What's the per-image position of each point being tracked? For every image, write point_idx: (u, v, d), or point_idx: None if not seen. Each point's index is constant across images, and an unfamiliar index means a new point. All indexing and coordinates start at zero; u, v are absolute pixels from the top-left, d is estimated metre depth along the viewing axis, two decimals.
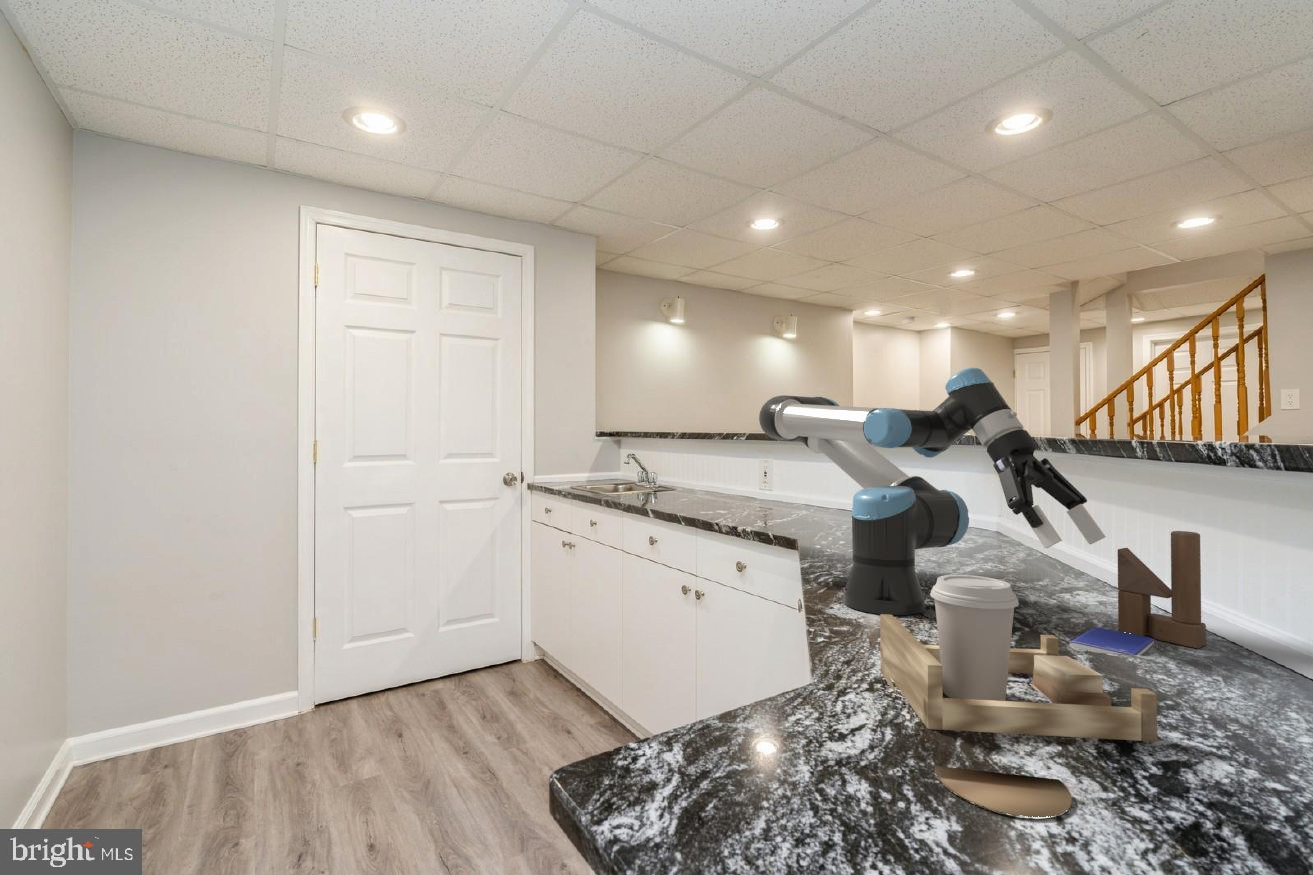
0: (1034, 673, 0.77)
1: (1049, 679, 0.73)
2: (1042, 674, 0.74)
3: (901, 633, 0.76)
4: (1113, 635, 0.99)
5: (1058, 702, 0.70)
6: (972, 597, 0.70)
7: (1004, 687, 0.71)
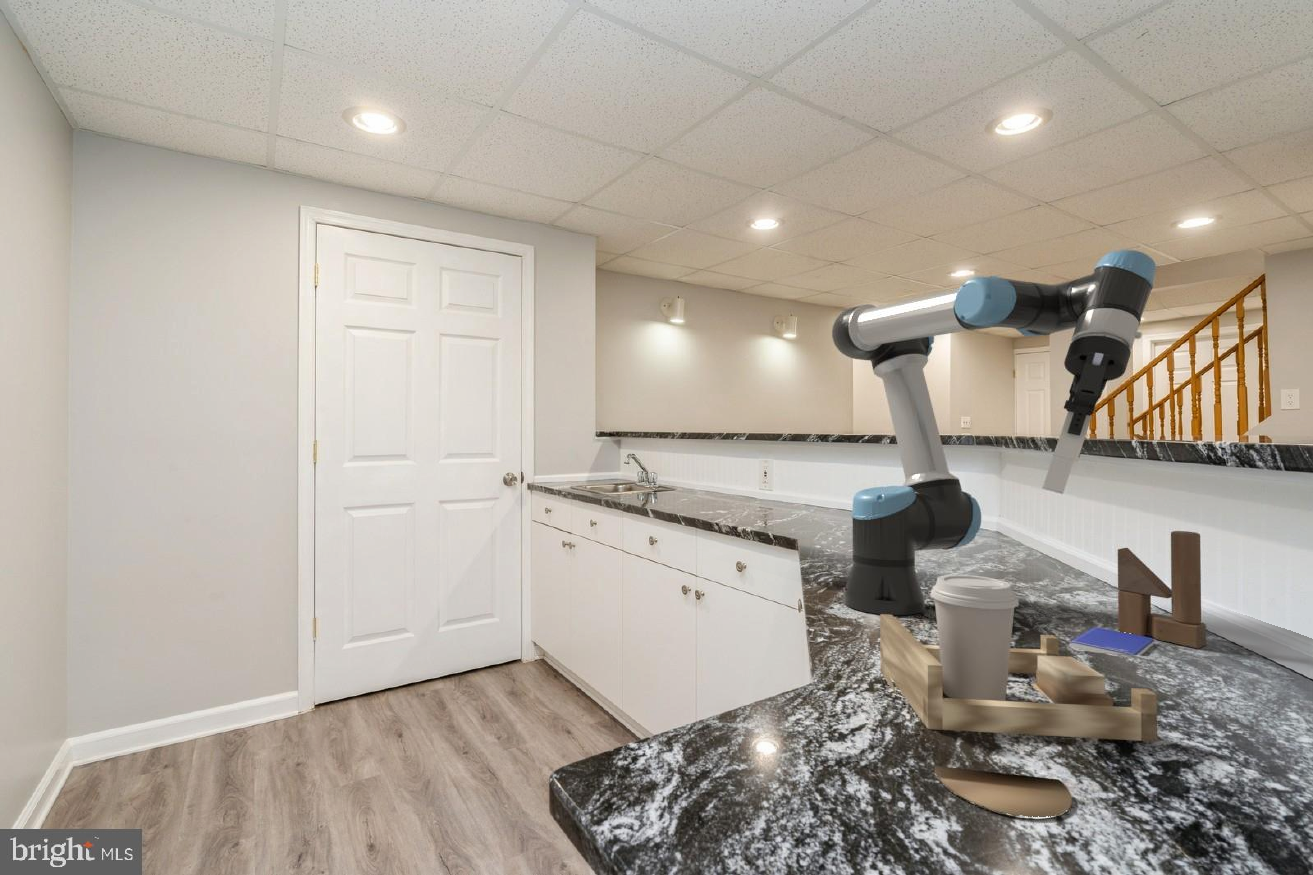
0: (1037, 674, 0.76)
1: (1051, 679, 0.73)
2: (1045, 674, 0.74)
3: (901, 633, 0.76)
4: (1113, 635, 0.99)
5: (1059, 703, 0.70)
6: (972, 597, 0.70)
7: (1004, 687, 0.71)
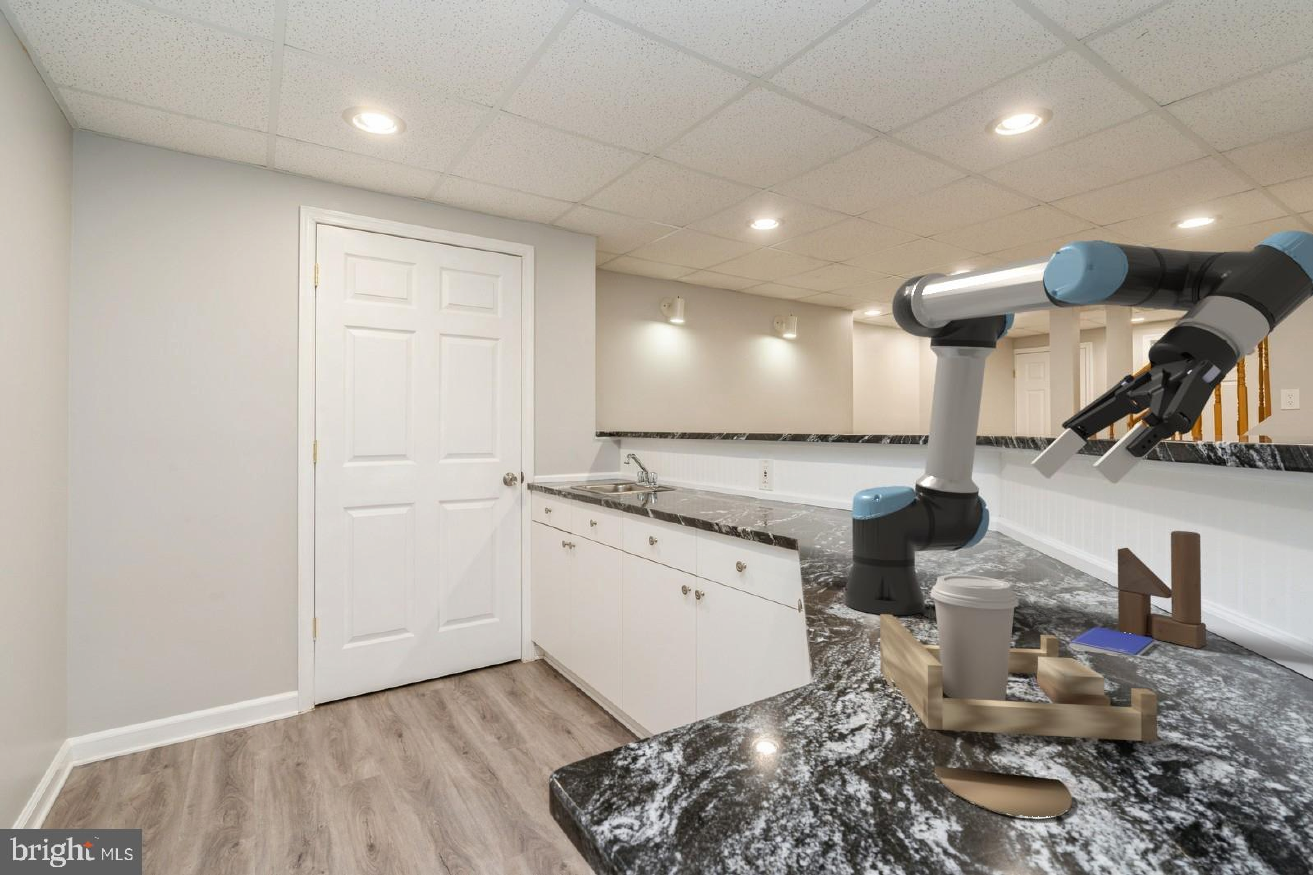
0: (1037, 674, 0.77)
1: (1051, 680, 0.73)
2: (1045, 675, 0.74)
3: (901, 633, 0.76)
4: (1113, 635, 0.99)
5: (1056, 702, 0.70)
6: (972, 597, 0.70)
7: (1004, 687, 0.71)
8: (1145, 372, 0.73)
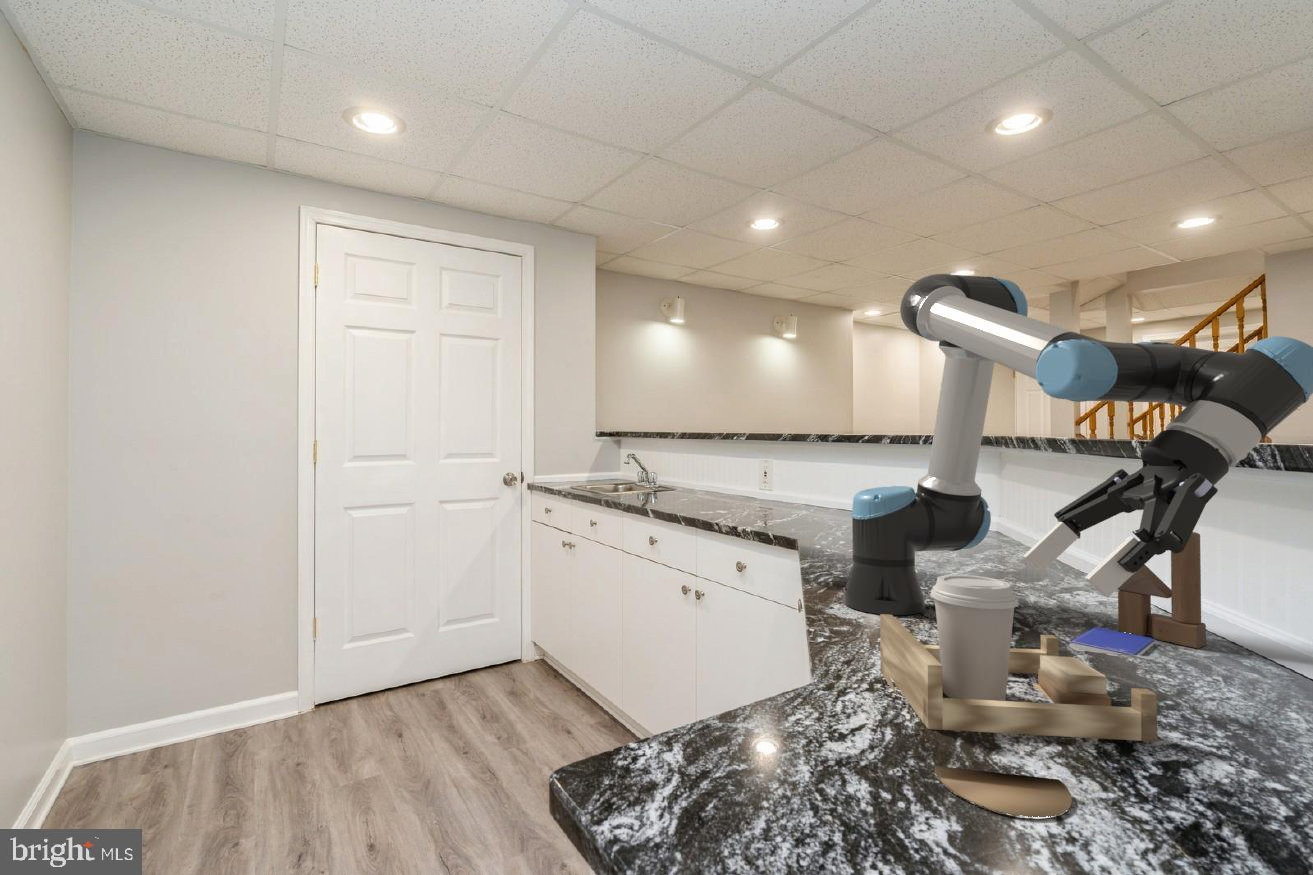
0: (1039, 673, 0.77)
1: (1053, 679, 0.73)
2: (1047, 674, 0.74)
3: (901, 633, 0.76)
4: (1113, 635, 0.99)
5: (1057, 702, 0.70)
6: (972, 597, 0.70)
7: (1004, 687, 0.71)
8: (1137, 473, 0.73)
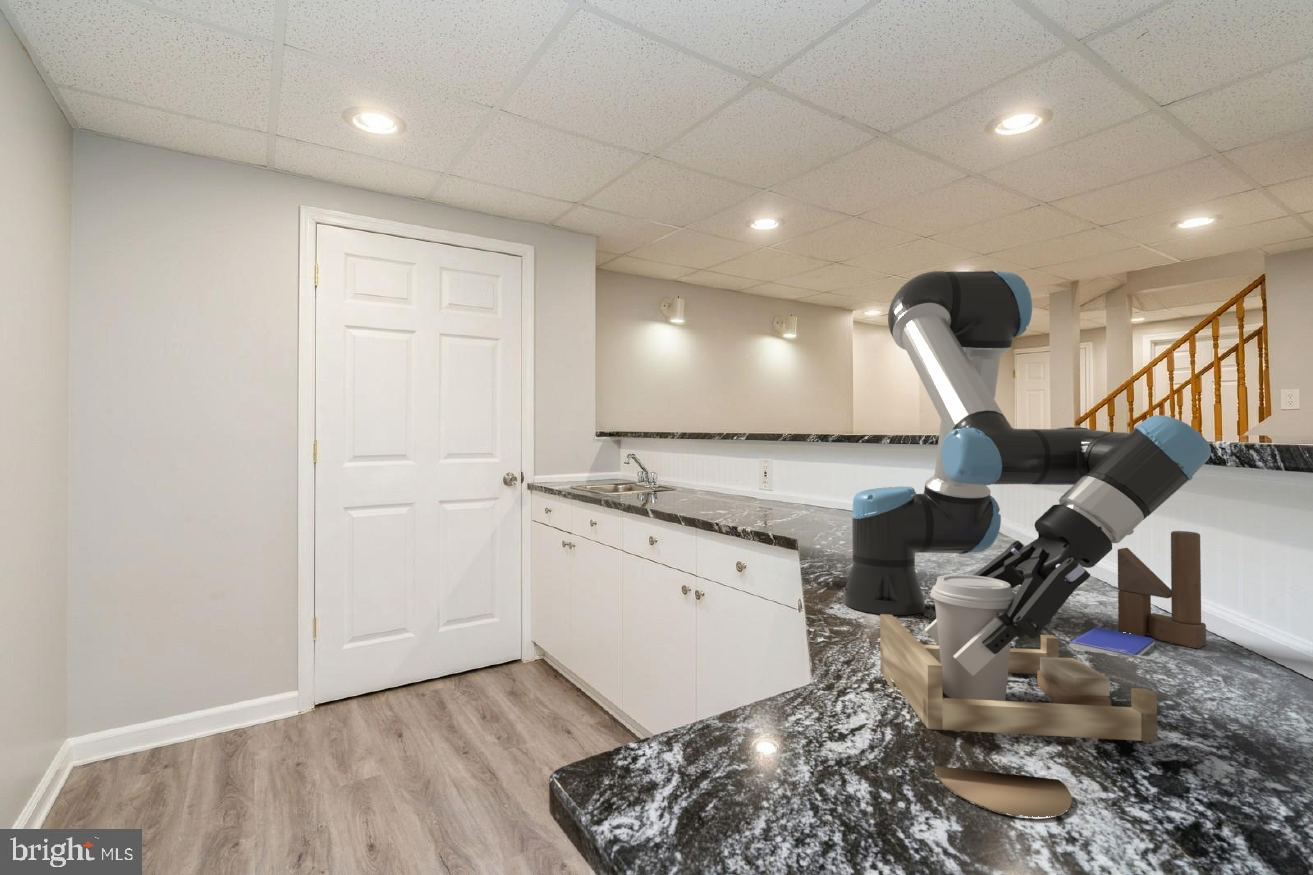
0: (1038, 674, 0.77)
1: (1055, 682, 0.73)
2: (1048, 676, 0.74)
3: (901, 633, 0.76)
4: (1114, 635, 0.99)
5: None
6: (972, 597, 0.70)
7: (1004, 687, 0.71)
8: (1029, 546, 0.74)
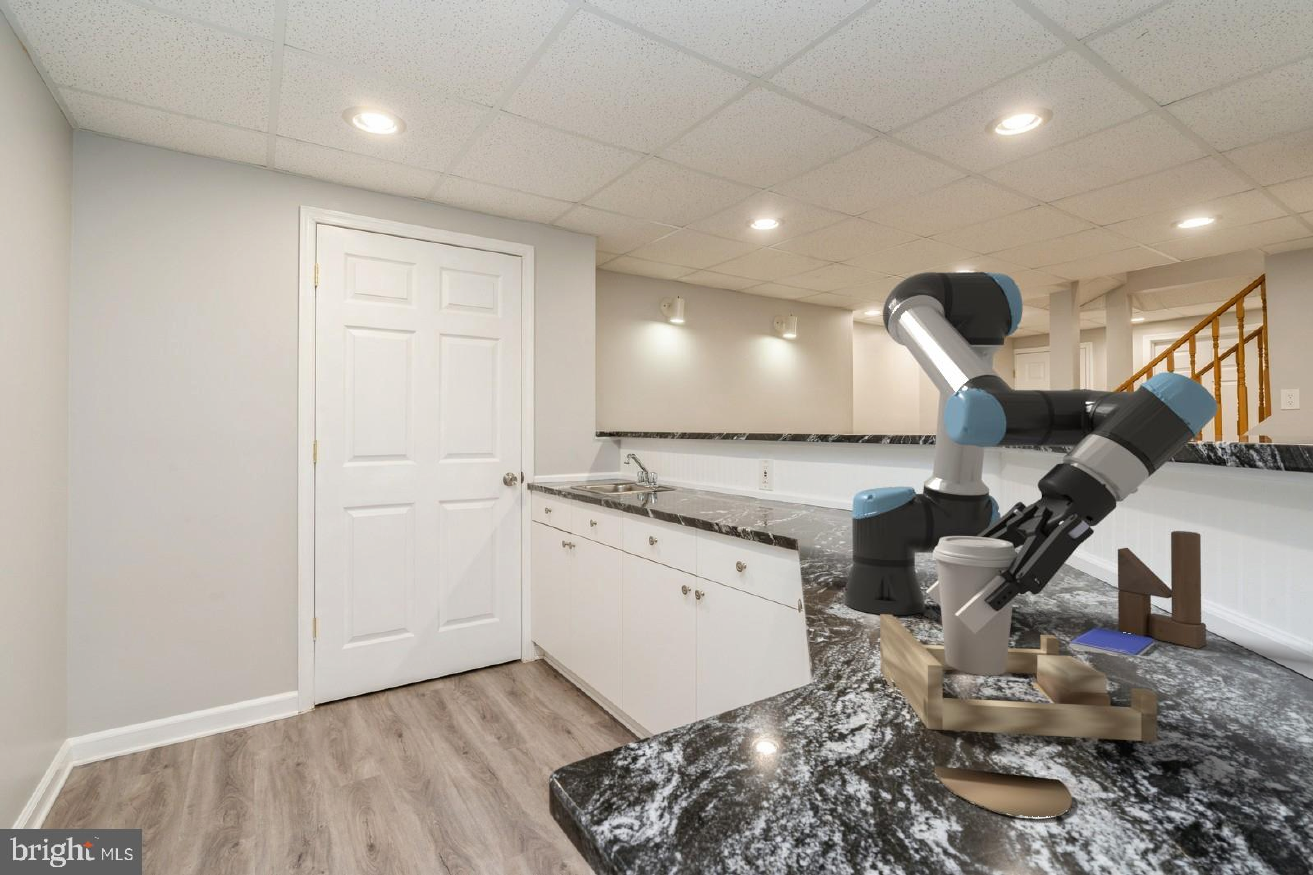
0: (1037, 672, 0.77)
1: (1053, 679, 0.73)
2: (1045, 674, 0.74)
3: (901, 633, 0.76)
4: (1114, 635, 0.98)
5: (1056, 701, 0.70)
6: (974, 556, 0.70)
7: (1006, 646, 0.71)
8: (1033, 505, 0.74)
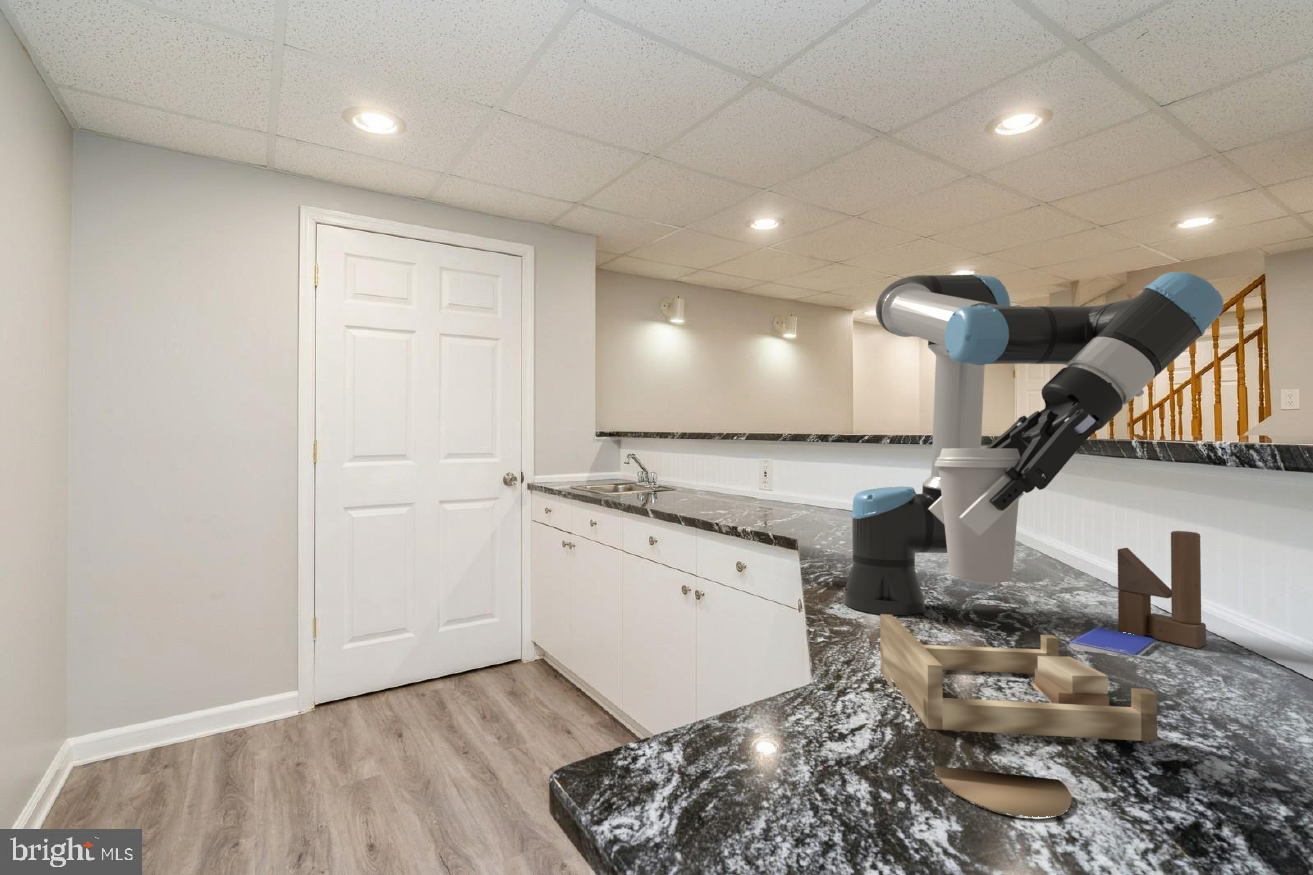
0: (1035, 673, 0.77)
1: (1054, 680, 0.72)
2: (1046, 675, 0.74)
3: (901, 633, 0.76)
4: (1114, 635, 0.98)
5: (1055, 702, 0.70)
6: (978, 457, 0.68)
7: (1011, 552, 0.69)
8: (1037, 412, 0.72)
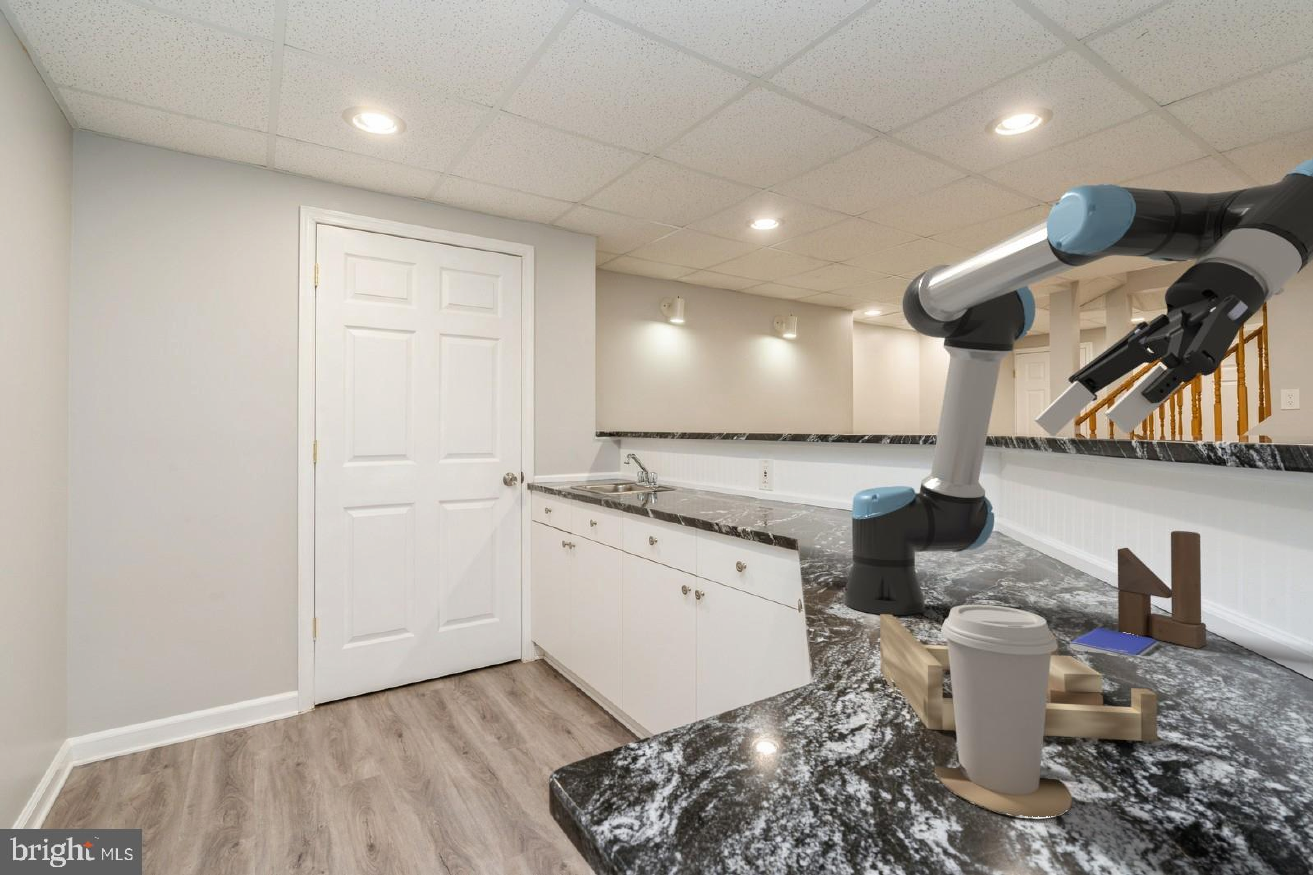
0: None
1: (1049, 678, 0.73)
2: None
3: (901, 633, 0.76)
4: (1115, 636, 0.98)
5: (1049, 699, 0.71)
6: (997, 638, 0.54)
7: (1039, 755, 0.54)
8: (1162, 315, 0.66)
